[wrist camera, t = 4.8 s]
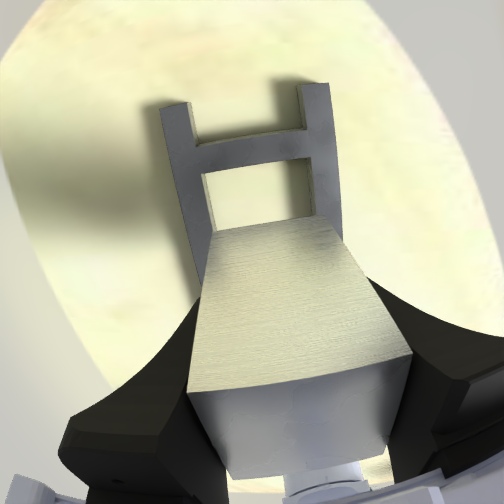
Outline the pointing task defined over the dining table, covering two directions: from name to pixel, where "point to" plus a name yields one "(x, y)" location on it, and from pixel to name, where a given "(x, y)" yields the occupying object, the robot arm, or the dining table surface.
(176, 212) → the dining table surface
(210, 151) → the rail
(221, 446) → the steel peg
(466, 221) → the dining table surface
